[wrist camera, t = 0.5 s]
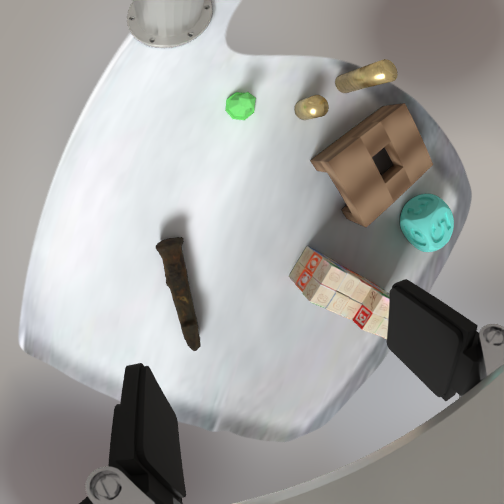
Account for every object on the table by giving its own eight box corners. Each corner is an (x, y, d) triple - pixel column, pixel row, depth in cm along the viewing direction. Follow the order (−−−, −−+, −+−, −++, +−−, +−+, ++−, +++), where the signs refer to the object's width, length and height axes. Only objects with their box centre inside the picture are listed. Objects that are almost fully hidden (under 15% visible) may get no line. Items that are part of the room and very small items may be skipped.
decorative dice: (430, 220, 54) (458, 230, 47) (407, 245, 54) (434, 258, 47) (418, 190, 51) (447, 197, 44) (393, 215, 51) (422, 225, 44)
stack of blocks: (286, 276, 50) (318, 312, 38) (306, 244, 49) (343, 271, 37) (367, 315, 57) (403, 347, 46) (384, 289, 56) (422, 317, 45)
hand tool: (156, 238, 43) (153, 247, 38) (182, 234, 44) (183, 243, 39) (179, 343, 49) (180, 359, 45) (201, 339, 50) (204, 355, 46)
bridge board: (310, 160, 44) (328, 162, 39) (382, 106, 44) (404, 103, 39) (346, 218, 49) (366, 227, 43) (411, 161, 49) (432, 164, 43)
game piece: (259, 101, 40) (271, 93, 34) (245, 125, 40) (256, 121, 35) (233, 87, 38) (241, 77, 33) (219, 112, 39) (225, 105, 33)
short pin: (290, 107, 41) (303, 102, 36) (305, 96, 41) (320, 91, 36) (302, 123, 42) (316, 120, 38) (317, 113, 42) (332, 109, 38)
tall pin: (331, 80, 41) (375, 64, 30) (344, 72, 41) (389, 56, 30) (342, 96, 42) (387, 85, 31) (355, 88, 42) (400, 76, 31)
